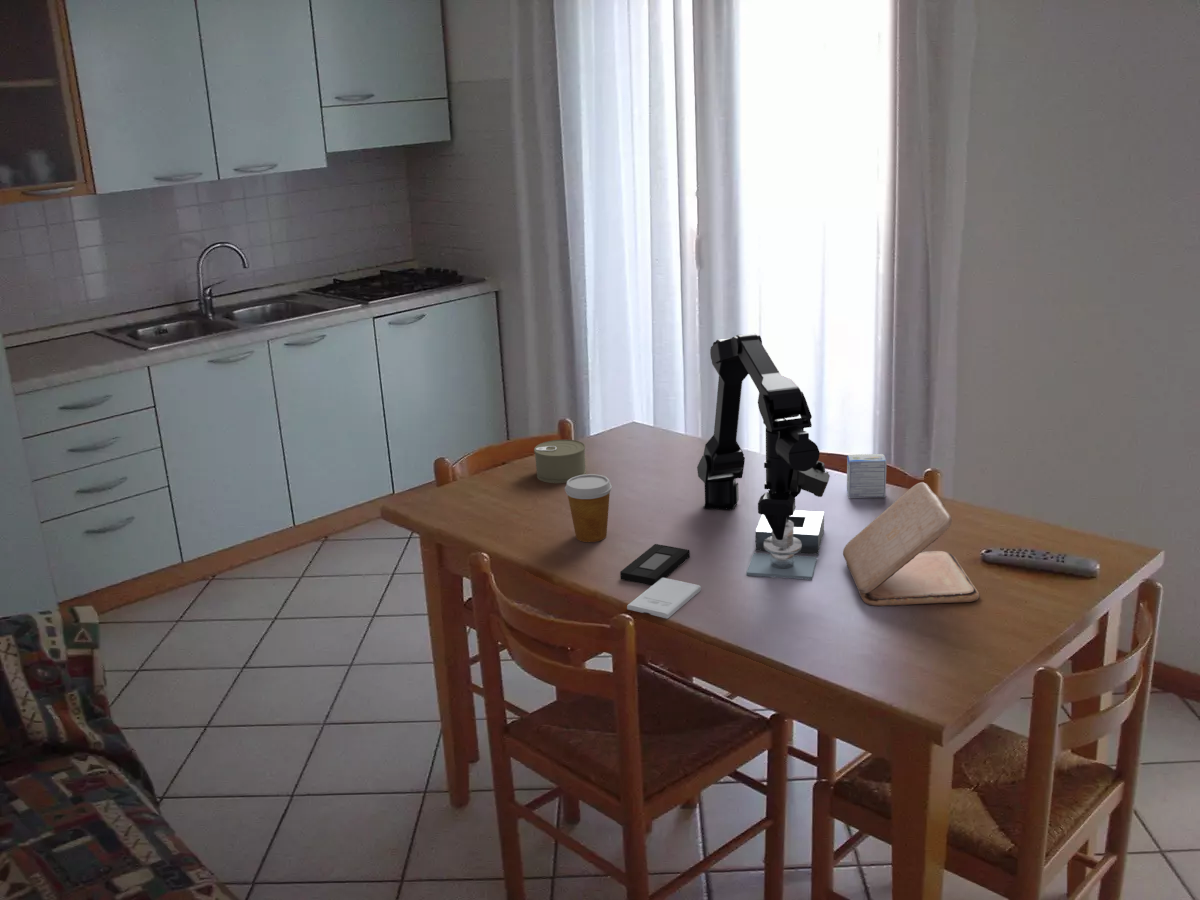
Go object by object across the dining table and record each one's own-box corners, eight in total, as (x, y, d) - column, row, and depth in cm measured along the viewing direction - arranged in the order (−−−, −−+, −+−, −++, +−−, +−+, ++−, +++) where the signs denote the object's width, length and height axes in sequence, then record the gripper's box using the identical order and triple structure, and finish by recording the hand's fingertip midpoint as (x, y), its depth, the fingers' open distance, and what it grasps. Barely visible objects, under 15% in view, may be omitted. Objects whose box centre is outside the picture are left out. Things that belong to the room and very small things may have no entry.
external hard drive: (701, 593, 208) (667, 621, 198) (661, 584, 212) (627, 612, 202) (700, 585, 207) (667, 613, 198) (661, 576, 212) (626, 603, 202)
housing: (755, 550, 223) (755, 531, 222) (764, 526, 234) (764, 508, 233) (818, 554, 220) (818, 535, 218) (823, 530, 231) (824, 511, 229)
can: (586, 482, 265) (584, 454, 263) (534, 485, 265) (532, 457, 263) (587, 465, 276) (585, 438, 274) (537, 467, 276) (535, 440, 274)
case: (840, 560, 217) (841, 481, 212) (952, 555, 216) (956, 476, 211) (860, 610, 198) (861, 524, 193) (983, 605, 197) (988, 519, 192)
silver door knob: (760, 570, 213) (761, 529, 210) (766, 554, 219) (766, 514, 216) (798, 573, 211) (799, 532, 208) (803, 557, 217) (804, 517, 214)
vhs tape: (620, 581, 214) (619, 572, 213) (655, 553, 226) (655, 543, 225) (655, 588, 210) (655, 579, 210) (689, 559, 222) (689, 549, 221)
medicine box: (883, 491, 249) (884, 453, 247) (886, 498, 245) (887, 460, 242) (846, 491, 250) (846, 454, 247) (848, 499, 246) (849, 461, 243)
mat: (746, 575, 213) (746, 572, 212) (753, 555, 221) (753, 552, 221) (811, 579, 209) (811, 576, 209) (816, 559, 217) (816, 556, 217)
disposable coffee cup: (621, 530, 236) (619, 475, 232) (602, 548, 228) (599, 491, 224) (580, 525, 240) (576, 471, 236) (560, 542, 232) (556, 487, 228)
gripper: (821, 473, 197) (821, 556, 202) (831, 439, 214) (830, 516, 219) (757, 470, 200) (757, 552, 205) (771, 437, 217) (772, 513, 222)
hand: (781, 533), depth 213 cm, fingers open, 6 cm apart
